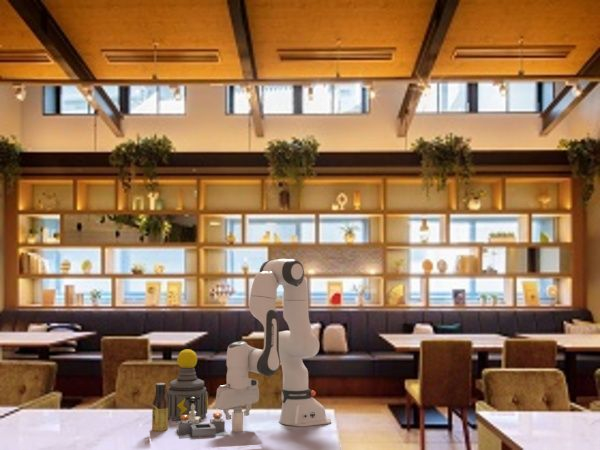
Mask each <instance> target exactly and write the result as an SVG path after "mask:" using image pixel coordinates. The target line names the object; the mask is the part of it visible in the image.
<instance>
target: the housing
mask: <svg viewBox="0 0 600 450" xmlns="http://www.w3.org/2000/svg"><path fill="white" fill-rule="evenodd" d="M225 422H226V421H225V420H224V418H221V421H214V418H212V419H209V422H208V423H206V422H205V423H192V422H191V420H188V423H182V421H177V429H176V433H177V435H178V439H181V440H182V439H195V438H213V437H228V436H229V433H228V431H226V428H225V427H226V426H225Z"/></svg>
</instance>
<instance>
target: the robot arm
mask: <svg viewBox="0 0 600 450" xmlns="http://www.w3.org/2000/svg"><path fill="white" fill-rule="evenodd" d="M302 264H303V263H302V262H301V261H299V260H297V259H293V258H289V259H288V258H279V259H269V260H266V261H265V262H263V263H262V264H261V266H260V268H259V272H258V273H256V275H255V276H254V278H253V280H252V281H253V282H252V285H251V290H250V295H249V303H248V307H249V311H250V313H251V315H252V317H254V318H255V319H256V320H258V321H259V322H260V323H261V325H262V326H263V332H264V333H263V338H264V339H263V349H260V348H256V347H253V346H251V345H249V344H248V343H247V342H246V341H243V340H242V341H241V340H239V341H234V342H231V343H230V344H229V345H228V346H227V351H226V367H227V372H226V384H223V385H219V386H218V388H216V395H215V396H216V397H215V405H214V406H215V408H216V409H217V410H223V413H224V415H225V420H228V421H230V420H232V414H230V413H229V412H230V409H232V408H233V409H234V408H238V407H243V406H245V407H246V408H245V410H244V411H243V417H244V416H245V417H247V416H250V411H251V408H252V405H253V404H257V403H258V402H259V400H260V389H259V386H258V385H259V380H257V379H255V378H251V377H249V372H251V373H255V374H260V375H262V376H266V377H271V376H273V375H275V374H276V373H277V372H278V370H279V368H280V365H281V370H282V388H281V402H282V405H281V412H280V417H279V420H278V422H279V423H280V424H282V425H286V426H287V425H288V426H295V427H309V426H318V425H319V426H320V425H326V424H331V423H332V419H331V417H329V416H327V414H326V409H325V407H324V405H322V404H321V403H320V402H319V401H317V400H316V399H315V398H314V396H316V393H317V392H316V391H315V390H313V389H310V388H309V371H308V368H307V367H306V366H305V364H304V362H303V361H304V360H303V359H311V358H314V357H315V356H316V355H317V354H318V353H319V351H320V341H319V339H318V337H317V336H316V335H315V333H314V331H313V329H312V325H311V322H310V317H309V316H310V315H309V291H308V284H307V279H306V278H305V277H304V276H305V270H304V266H303V265H302ZM279 286H282V288H283V295H282V296H283V298H282V301H283V302H282V307H283V308H282V317H283V319H284V321H285V322H286V324H287V325H288V329H289V330H283V331H280V320H279V319H280V318H279V315H278V312H277V307H276V305H277V304H276V303H277V294H278V293H277V292H278V288H279Z"/></svg>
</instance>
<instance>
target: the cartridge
mask: <svg viewBox="0 0 600 450" xmlns="http://www.w3.org/2000/svg"><path fill="white" fill-rule="evenodd" d="M231 431H232V432H235V433H237V432H239V433H240V432H243V431H244V411H243V406H238V407H233V411H232V412H231Z"/></svg>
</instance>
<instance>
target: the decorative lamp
mask: <svg viewBox="0 0 600 450" xmlns="http://www.w3.org/2000/svg"><path fill="white" fill-rule="evenodd" d="M176 358H177V360H176V361H177V364H178V366H179V372H178V374H177V375H178V376H177V378H176V379H173V380H171V381H170V382H169V383H168V384H169V387H168V388H167V390H166V391H165V395H166V397H167V399H168V420H171V419H172V420H171V421H177V420H178V421H182V419H180V416H181V415H189V412H191V406H192V404H191V403H189V401H188V399H187V400H186V399H185V397H189V396H197V397H198V396H200V400H198V401H197V402H196V403H194V406H195V409H194V410H195V412H196V415H195V416H197V417H201V418H202V419H204V418H205V417H206V416H207V414H208V410H209V409H208V407H209V402H208V401H209V400H208V399H209V398H208V397H209V393H208V391H207V387H206V386H205V381H204V380H202V379H200V378H198V376H197V373H196V369H195V367H196V365H197V363H198V355H197V353H196V352H195V351H194V350H192V349H189V348H188V349H186V348H185V349H183V350H181V351H180V352H179V354H178V356H177V357H176ZM178 421H177V422H178Z"/></svg>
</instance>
